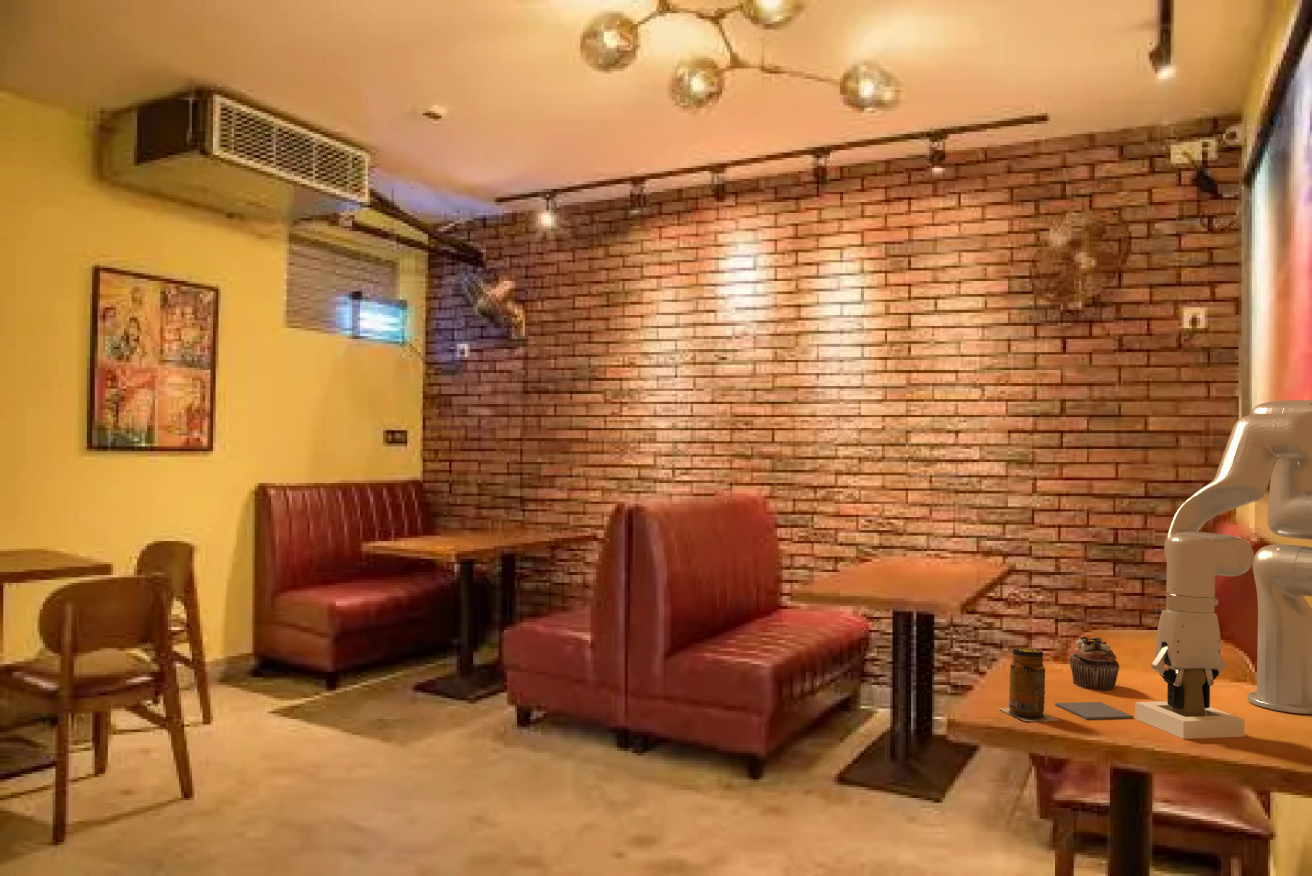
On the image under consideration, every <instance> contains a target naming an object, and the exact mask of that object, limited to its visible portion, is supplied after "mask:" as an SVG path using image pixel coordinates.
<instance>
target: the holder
mask: <svg viewBox="0 0 1312 876" xmlns="http://www.w3.org/2000/svg"><path fill="white" fill-rule="evenodd" d="M1134 704H1135V706H1134V718H1135V719H1136V720H1138V721H1140V722H1143V723H1145V724H1148V725H1149V726H1152V727H1154V728H1156V727H1157V729H1159V730H1162V731H1163V732H1167V733H1168V734H1171V735H1173V736H1175V737H1177V738H1180V739H1182V740H1183V739H1184V740H1188V739H1191V740H1192V739H1193V740H1194V739H1216V738H1217V739H1219V738H1221V739H1222V738H1242V737H1245V718H1242V717H1239V716H1237V715H1233V714H1230V713H1228V712H1225V711H1222V710H1220V709H1218V708H1214V707H1211V706H1210V707H1209V708H1205V713H1206V716H1199V717H1185V716H1182V715H1179V714H1177V713H1174V712H1172V711H1171V708H1172V706H1170V705H1168V700H1167V701H1165V700H1164V701H1136V702H1135V703H1134Z"/></svg>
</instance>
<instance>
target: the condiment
mask: <svg viewBox="0 0 1312 876" xmlns="http://www.w3.org/2000/svg"><path fill="white" fill-rule="evenodd" d="M1011 656H1012V661H1011V662H1010V666H1009V667H1010V669H1009V697H1008V698H1009V699H1008V700H1009V701H1008V707H1009V708H1008V707H999V708H997V709H999V710H1000V711H1002V712H1004V713H1006V714H1008V715H1009V716H1010V715H1011V716H1012V717H1015V718H1016V719H1019V720H1022V721H1023V722H1037V723H1038V722H1039V723H1040V722H1045V723H1046V722H1057V721H1058V722H1059V721H1061V720H1060V719H1058V718H1056V717H1054V716H1052V715H1050V714H1047V713H1046V712H1045V701H1046V700H1045V699H1046V698H1045V694H1046V689H1045V688H1046V667H1045V664H1043V663H1044V657H1043V656H1044V652H1043V651H1042V650H1041V649H1039V648H1034V647H1026V646H1017V647H1014V648H1013V649H1012V655H1011ZM1044 712H1045V713H1044Z"/></svg>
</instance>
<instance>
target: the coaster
mask: <svg viewBox="0 0 1312 876" xmlns="http://www.w3.org/2000/svg"><path fill="white" fill-rule="evenodd" d="M1054 706H1056V707H1058V708H1060V709H1062V710H1065V711H1066V712H1069V713H1071V714H1074V715H1076V716H1078V717H1080V718H1082V719H1084V720H1088V721H1089V720H1117V719H1134V715H1132V714H1129V713H1127V712H1126V711H1122V710H1119V709H1118V708H1115V707H1113V706H1111V705H1108V704H1105V703H1103V702H1102V701H1084V702H1083V701H1082V702H1081V701H1079V702H1078V701H1077V702H1054Z"/></svg>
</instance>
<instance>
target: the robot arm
mask: <svg viewBox="0 0 1312 876" xmlns="http://www.w3.org/2000/svg"><path fill="white" fill-rule="evenodd" d="M1268 486H1269V487H1268ZM1268 488H1269V495H1268V506H1267V516H1266V517H1267V518H1266V519H1267V525H1268V529H1269V530H1270V531H1271V532H1272V533H1273V534H1274V535H1276V536H1279V537H1283V538H1288V539H1297V540H1306V541H1307V540H1309V541H1312V399H1305V400H1304V399H1301V400H1300V399H1299V400H1295V399H1294V400H1292V399H1291V400H1275V401H1267V402H1266V401H1265V402H1263V403H1259V404H1257V405H1256V406H1255V407H1253V409H1252V410H1251V412H1250V414H1248V415H1245V416H1243V417H1241V418H1239V419H1238V420H1237V421H1236V422H1235V424H1234V425H1233V427H1232V430H1231V433H1230V434H1229V437H1228V440H1227V442H1226V446H1225V449H1224V451H1223V455H1222V456H1221V460H1220V462H1219V465H1218V468H1217V470H1216V474H1215V477H1214V478H1213V480H1212V481H1210V482H1209V483H1207V484H1206V485H1205V486H1202V488H1200V489H1199V490H1197V491H1196V492H1195V493H1193V494H1192V495H1191V496H1190V497H1188V499H1186V500H1185V501H1184V502H1183V503H1182V504H1181V505H1180V506H1179V508H1177V511H1176V512H1175V513H1174V516H1173V518H1172V520H1171V523H1170V526H1169V528H1168V531H1167V534H1166V536H1165V542H1164V548H1163V551H1164V552H1163V553H1164V557H1165V559H1166V590H1165V591H1166V595H1165V596H1166V602H1165V605H1166V606H1165V609H1163V610H1161V613H1160V616H1159V620H1158V623H1157V624H1158V626H1157V631H1156V639H1155V653H1154V654H1155V658H1154V660H1153V662H1152V663H1151V665H1150V666H1151V668H1152V669H1153V670H1154V671H1156V672H1157V673H1158V674H1159V675H1160V677H1162V679H1163V681H1164V683H1166V684H1167V691H1166V692H1167V693H1166V695H1167V696H1166V697H1167V701H1168V705H1170V706H1172V707H1175V708H1178V709H1183V707H1184V688H1183V687H1182V686H1180V685H1181V681H1182V677H1183V673H1184V670H1186V669H1203V671H1204V672H1205V675H1206V680H1205V683H1204V684H1203V685H1202V690H1203V698H1204V705H1205V708H1209V707H1211V687H1213V685H1214V684H1215V680H1216V679H1217V677H1218V676H1219V674H1220V673H1222V672H1223V671H1224V670H1225V669H1227V667H1228V666H1227V663H1226V662H1225V660H1224V659H1223V656H1222V643H1221V642H1222V640H1221V639H1222V638H1221V632H1220V631H1221V630H1220V624H1219V619H1218V614H1217V613H1215V610H1216V609H1215V607H1216V606H1218V604H1219V600H1218V599H1217V598H1216V576H1222V577H1237V576H1241V575H1243V574H1245V573H1247V572H1248V571H1250V569H1251V567H1252V573H1253V577H1254V583H1255V587H1256V588H1255V589H1256V595H1257V656H1256V657H1257V663H1256V664H1257V665H1256V666H1257V667H1256V669H1257V671H1256V691H1252V692H1249V693H1248V694H1247V701H1248V702H1249V703H1251V704H1252V705H1255V706H1258V707H1261V708H1263V709H1268V710H1273V711H1279V712H1286V713H1289V714H1291V713H1292V714H1300V715H1301V714H1302V715H1304V714H1305V715H1312V606H1311V605H1310V604H1309V602H1308V601H1307V599H1306V597H1311V598H1312V546H1307V545H1298V544H1297V545H1296V544H1287V543H1285V544H1282V543H1277V544H1274V543H1273V544H1269V545H1265V546H1263V547H1260V548H1259V550H1257V551H1256V552H1255V553H1254V550H1253V547H1252V545H1251V543H1249V542H1248V541H1247V540H1246V539H1245V538H1243V537H1240V536H1237V535H1231V534H1225V533H1223V534H1222V533H1214V532H1204V531H1202V532H1201V531H1200V530H1201V528H1202V527H1203V526H1204V525H1205V524H1206V522H1209V520H1211V519H1213V518H1214V517H1217V516H1218V515H1220V514H1222V513H1225V512H1228V511H1231V510H1235V509H1237V508H1240V507H1241V508H1242V507H1243V506H1244V507H1245V506H1246V505H1249V504H1252V503H1255V502H1258V501H1259V500H1261V499H1262V498H1264V496H1265V494H1266V493H1267V489H1268ZM1166 665H1167V666H1166ZM1165 666H1166V667H1165ZM1174 670H1175V676H1174V675H1173V673H1174Z"/></svg>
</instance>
